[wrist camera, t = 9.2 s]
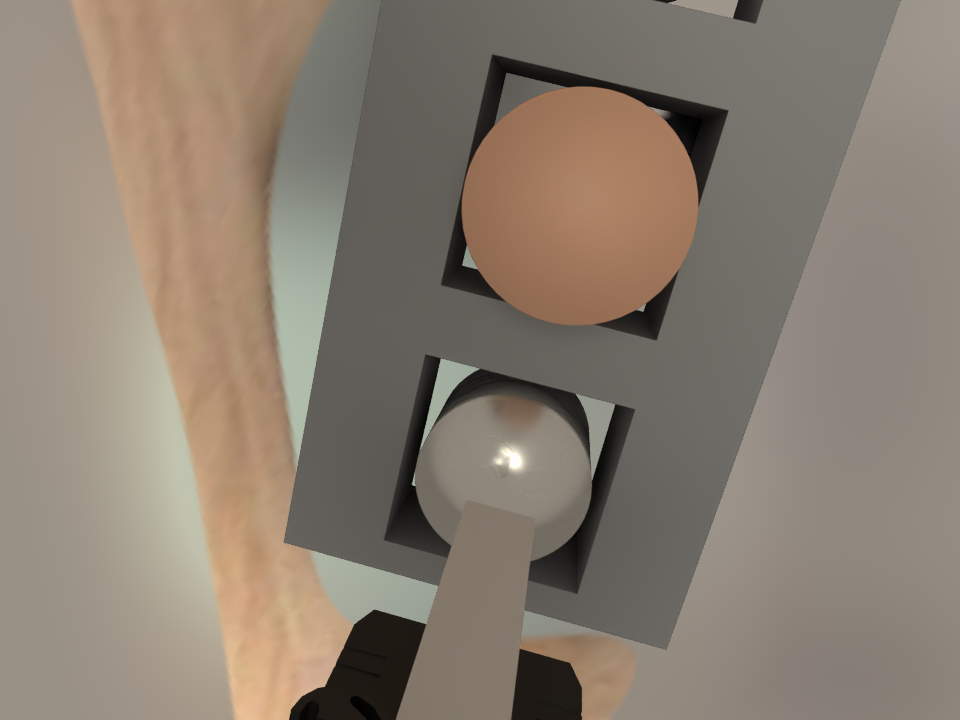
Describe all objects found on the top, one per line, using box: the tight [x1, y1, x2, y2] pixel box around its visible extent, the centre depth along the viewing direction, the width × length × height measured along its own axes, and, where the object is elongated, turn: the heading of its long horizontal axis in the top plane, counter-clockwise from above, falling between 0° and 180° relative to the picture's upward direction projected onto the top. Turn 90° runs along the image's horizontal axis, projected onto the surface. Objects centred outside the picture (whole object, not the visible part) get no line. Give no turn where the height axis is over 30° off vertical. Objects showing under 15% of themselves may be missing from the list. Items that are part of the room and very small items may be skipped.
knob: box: [415, 369, 592, 561], centre depth 23 cm, size 5×5×4 cm
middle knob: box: [462, 87, 698, 326], centre depth 18 cm, size 5×5×4 cm
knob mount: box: [284, 0, 901, 650], centre depth 21 cm, size 24×12×4 cm, turn 166°
